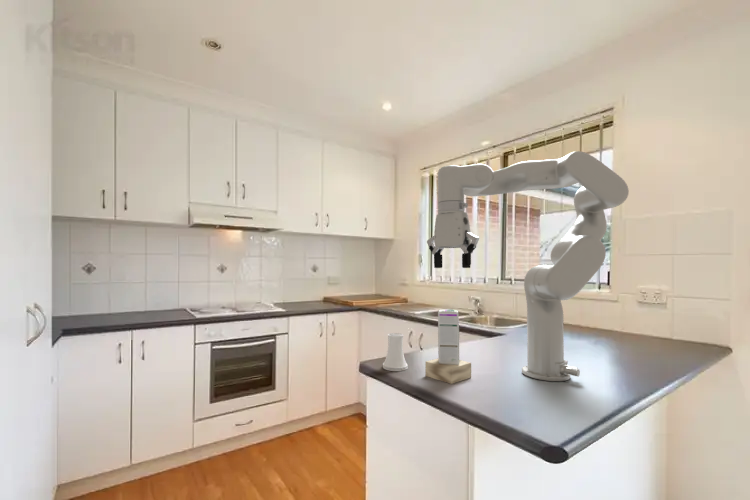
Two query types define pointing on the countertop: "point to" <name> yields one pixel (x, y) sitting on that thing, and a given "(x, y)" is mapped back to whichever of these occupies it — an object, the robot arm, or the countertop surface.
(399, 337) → the white flared cylinder
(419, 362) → the countertop surface
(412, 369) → the countertop surface
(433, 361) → the beech block
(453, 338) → the syrup box
